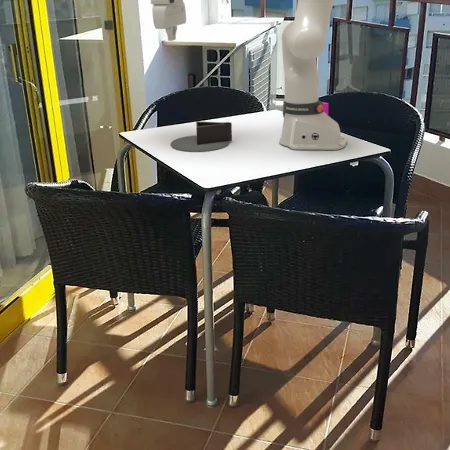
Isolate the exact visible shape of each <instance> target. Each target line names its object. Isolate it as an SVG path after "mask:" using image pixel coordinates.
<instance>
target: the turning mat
mask: <svg viewBox="0 0 450 450" xmlns="http://www.w3.org/2000/svg"><path fill="white" fill-rule="evenodd" d="M229 145H230V141H224V142H216V143H209V144H201V145H197V134H195V135H194V134H193V135H188V136H182V137H178V138H175V139H173V140H172V141H171V142H170V147H171V148H173V149H174V150H177V151H179V152H180V151H181V152H188V153H202V152H204V153H205V152H211V151H212V152H213V151H217V150H218V151H219V150H221V149H225V148H226V147H228V146H229Z"/></svg>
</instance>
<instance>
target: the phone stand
mask: <svg viewBox="0 0 450 450" xmlns="http://www.w3.org/2000/svg"><path fill="white" fill-rule="evenodd" d="M195 127H196V135H197V145H201V144H209V143H216V142H224V141H229V142H232V141H233V136H232V135H233V127H232V122H231V121H230V122H229V121H226V122H219V121H199V120H198V121H196V122H195Z"/></svg>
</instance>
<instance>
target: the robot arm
mask: <svg viewBox="0 0 450 450" xmlns="http://www.w3.org/2000/svg"><path fill="white" fill-rule="evenodd" d="M334 2H335V0H297V5H296V9H295V10H296V11H295V15H294V20H293V21H291V22H290V23H289V24H287V25H286V26H285V27H284V29H283V31H282V33H281V47H282V50H281V51H282V63H283V71H284V72H283V74H284V100H283V102H282V103H283V104H282V118H283V122H282V123H283V124H282V129H281V130H282V131H281V134H280V135H281V136H280V138H279V144H280V145H282V146H285V147H287V148H290V149H292V150H310V151H311V150H313V151H314V150H316V151H317V150H323V151H324V150H326V151H327V150H328V151H331V150H332V151H337V150H340V149H343V148H345V147H346V146H347V144H348V140H347V139H348V138H346V137H345V136H341V128H340V125H339V123H338V122H337V121H336V120H334V119H333V118H331V116H329V114H328V115H327V114H325V113H324V103H325V102H324V101H321V100H319V82H320V75H319V72H318V65H317V64H318V63H317V58H318V57H319V56H320V55H321V54H322V53H323V52H324V50H325V47H326V46H325V45H326V37H327V35H328V33H327V32H328V29H329V24H330V20H331V19H330V17H331V13H332V9H333V6H334ZM150 4H151V5H152V7H151V11H152V20H153V21H152V22H153V26H154V28H155V29H156V30H157V29H158V30H165V33H166V35H167V40H168V42H170V41H171V42H172V41H173V42H174V41H175V40H176V39H177V36H176V35H177V32H178V31H177V29H178V26H181V25H185V24H186V22H187V12H186V11H187V10H186V5H185V2H184V0H150ZM322 102H323V103H322Z"/></svg>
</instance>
